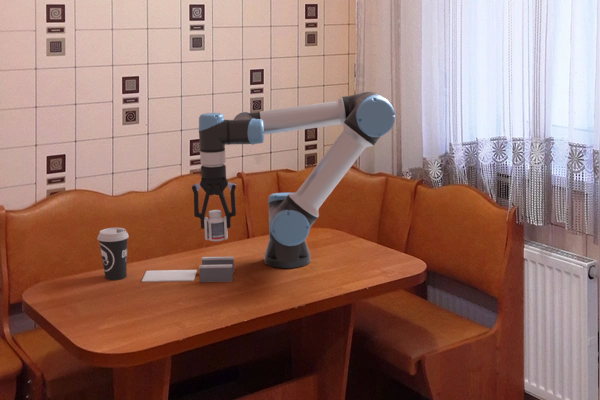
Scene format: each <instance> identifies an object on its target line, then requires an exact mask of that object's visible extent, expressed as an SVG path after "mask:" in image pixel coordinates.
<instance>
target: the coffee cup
mask: <svg viewBox="0 0 600 400" xmlns="http://www.w3.org/2000/svg"><path fill="white" fill-rule="evenodd" d="M128 238H130V237H129V233H128V231H127V230H126V228H123V227H108V228H104V229H103V228H102V229H101V230H99V234H98V235H97V241H98V242H99V248H100V253H101V259H102V260H101V261H102V266H103V271H104V277H105V279H106V280H108V281H119V280H123V279H125V278H126V277H127V270H128V269H127V267H128V263H127V260H128Z"/></svg>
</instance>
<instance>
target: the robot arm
mask: <svg viewBox="0 0 600 400" xmlns="http://www.w3.org/2000/svg"><path fill="white" fill-rule="evenodd" d="M395 121H396V112H395V109H394V107H393V105H392V103H391V102H390V100H388V99H387V98H385V97H384V96H382V95H381V94H379V93H376V92H375V91H374V92H373V91H366V92H360V93H356V94H352V95H346V96H340V98H339V99H338V100H334V101H328V102H327V101H326V102H320V103H313V104H312V103H311V104H306V105H305V104H304V105H298V106H290V107H282V108H275V109H267V110H261V111H255V112H248V111H242V112H239V113H238V114H237V115H236V116H234V118H233V119H225V117H224V114H223V113H221V112H207V113H203V114H200V115H199V117H198V138H199V155H200V156H199V157H200V159H199V160H200V164H201V166H200V174H201V175H200V176H201V180H200V182H199V183H194V184H192V186H191V190H192V192H193V207H194V209H193V211H194V212H193V214H194V215H193V216H194V217H195V218H199V219H200V228H201V229H202V230H204V239H205V241H209V240H208V230H207V220H208V216H206V212H207V210H208V204H209V200H210V196H214V195H215V196H218V197H219V199H220V202H221V205H222V208H223V212H224V214H225V216H224V217H223V219H224V234H225V239H224V240H228V237H229V236H228V229H230V228H231V226H232V223H231V221H232V220H231V219H232V217H236V215H237V204H236V188H237V183H235V182H234V183H232V182H229V180H228V179H227V169H226V167H227V166H226V164H225V163H226V146H231V145H252V146H253V145H257V144H263V143H264V141H265V135H272V134H281V133H286V132H287V133H288V132H293V131H302V130H310V129H317V128H318V129H319V128H325V127H332V126H338V125H340V126H342V127H343V130H342V132H341V133H340V134H339V136H338V137H337V138H336V139H335V141H334V142H333V143H332V145H331V146H330V147H329V149H328V150H327V151H326V153H325V154H324V156H323V157H322V158H321V159H320V160H319V162H318V163H317V164H316V166H315V167H314V168H313V170H312V171H311V173H310V174H309V175H308V176H307V178H306V179H305V180H304V181H303V182H302V184H301V185H300V186H299V188H298V189H297V191H295V192H275V193H274V192H273V193H271V194H270V195H269V196H268V201H267V204H268V231H269V233H268V234H269V235H268V236H269V237H268V243H267V245H266V246H267V247H266V249H265V253H264V257H263V258H264V264H266V265H267V266H269V267H273V268H279V269H293V268H295V269H296V268H299V267H304V266H306V265H308V264H310V263H311V253H310V250H309V246H308V243H307V238H308V236H309V234H310V231H311V229H310V228H311V227H312V226H313V225H314V224H315V222H316V221H317V220H318V219H319V216H320V214H319V209H320V208H321V206H322V205H323V204H324V202H325V201H326V200H327V198H329V196H330V195H331V193H332V192H333V191H334V189H336V187H337V185H338V184H339V183H340V182H341V181H342V179H343V178H344V177H345V175H346V174H347V173H348V171H349V170H350V169H351V168H352V166H353V165H354V163H355V162H356V161H357V160H358V159H359V157H360V156H361V154H362V153H363V152H364V150H365V149H366V148H368V147H369V148H370V147H374V146H375V144H377V142H378V141H379V140H380V139H381V137H383V136H385V135H386V134H387V133H389V132H390V131H391V130H392V128H393V127H394V125H395ZM201 188H202V190H203V191H204V192H205V196H204V201H203V205H202V208H201V212H200V200H199V199H200V198H199V197H200V196H199V195H200V194H199V191H200V190H201ZM226 188H228V190H229V191H230V209H231V210H230V209H229V206H228V202H227V200H226V199H227V198H226V197H225V193H224V192H225V189H226Z"/></svg>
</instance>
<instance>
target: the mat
mask: <svg viewBox="0 0 600 400" xmlns="http://www.w3.org/2000/svg"><path fill="white" fill-rule="evenodd" d="M197 272H198V269H170V270H169V269H168V270H166V269H162V270H146V271H145V273H144V275H143V277H142V280H141V282H142V283H155V282H156V283H157V282H158V283H159V282H160V283H161V282H163V283H164V282H169V283H170V282H194V281H195V279H196V275H197Z"/></svg>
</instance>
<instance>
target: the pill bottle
mask: <svg viewBox="0 0 600 400" xmlns="http://www.w3.org/2000/svg"><path fill="white" fill-rule="evenodd" d="M222 215H223V212H222V210H220V209H212V210H209V211H208V217H209V218H208V217H207V219H208V220H207V230H208V240H207V241H210V242H221V241H224V240H226V239H225V234H224V217H222Z"/></svg>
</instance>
